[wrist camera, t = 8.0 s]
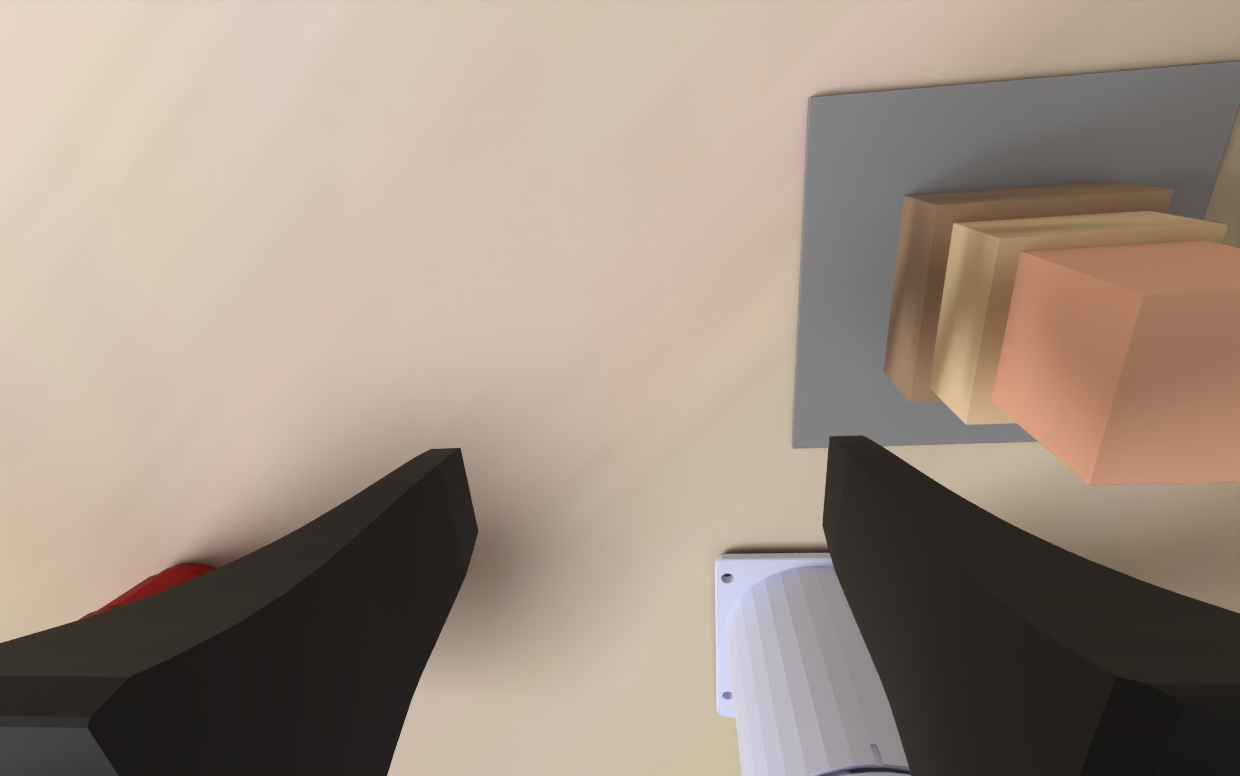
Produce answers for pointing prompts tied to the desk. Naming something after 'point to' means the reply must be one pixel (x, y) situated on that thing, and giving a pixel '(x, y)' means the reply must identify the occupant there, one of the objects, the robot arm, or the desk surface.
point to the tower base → (929, 251)
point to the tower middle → (987, 283)
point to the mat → (967, 161)
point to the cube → (1128, 360)
